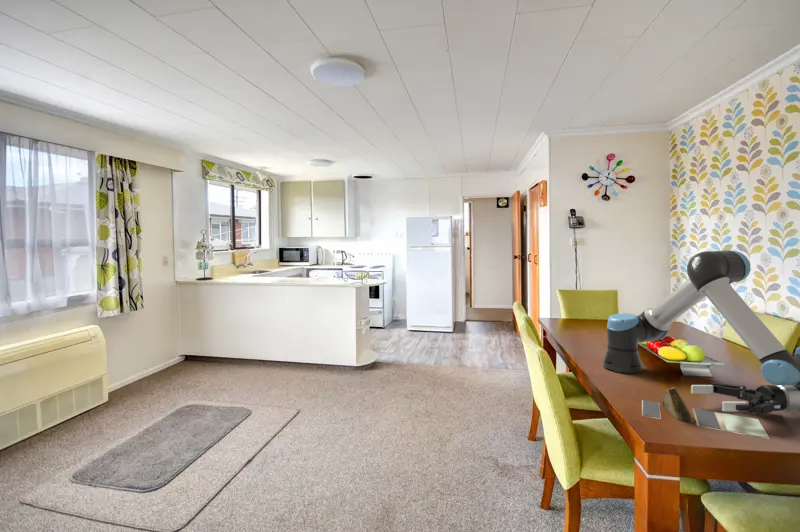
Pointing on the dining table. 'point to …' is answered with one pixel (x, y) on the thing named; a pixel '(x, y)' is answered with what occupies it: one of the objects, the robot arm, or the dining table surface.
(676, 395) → the rock
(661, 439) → the dining table surface
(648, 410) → the trap near
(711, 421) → the trap middle
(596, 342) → the dining table surface
